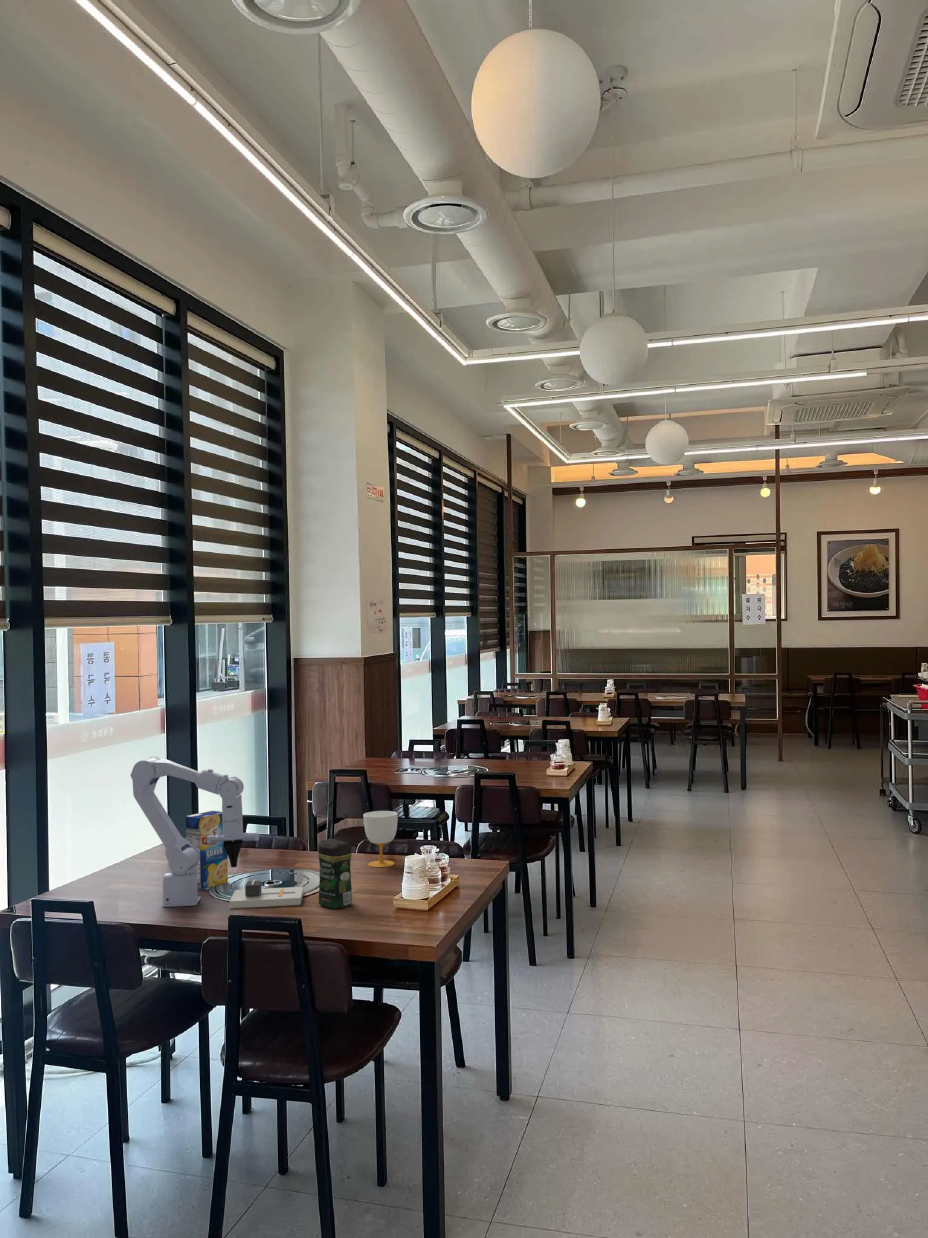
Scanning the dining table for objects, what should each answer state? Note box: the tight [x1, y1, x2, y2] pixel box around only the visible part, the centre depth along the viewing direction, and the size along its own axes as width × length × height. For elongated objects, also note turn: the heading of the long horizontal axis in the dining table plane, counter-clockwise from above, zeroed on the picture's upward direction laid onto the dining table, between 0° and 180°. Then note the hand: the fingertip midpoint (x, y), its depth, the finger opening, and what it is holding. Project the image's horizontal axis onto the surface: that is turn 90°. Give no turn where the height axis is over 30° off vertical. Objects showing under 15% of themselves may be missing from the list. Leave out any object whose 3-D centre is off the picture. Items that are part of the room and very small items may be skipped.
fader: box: [244, 879, 262, 896], centre depth 263 cm, size 4×5×3 cm
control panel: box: [229, 886, 304, 909], centre depth 263 cm, size 20×12×2 cm, turn 96°
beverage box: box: [184, 810, 229, 891], centre depth 283 cm, size 7×11×22 cm, turn 147°
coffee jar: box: [317, 838, 353, 910], centre depth 258 cm, size 10×8×19 cm
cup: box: [362, 810, 399, 869], centre depth 305 cm, size 12×12×17 cm
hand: (234, 866), depth 262 cm, fingers closed
